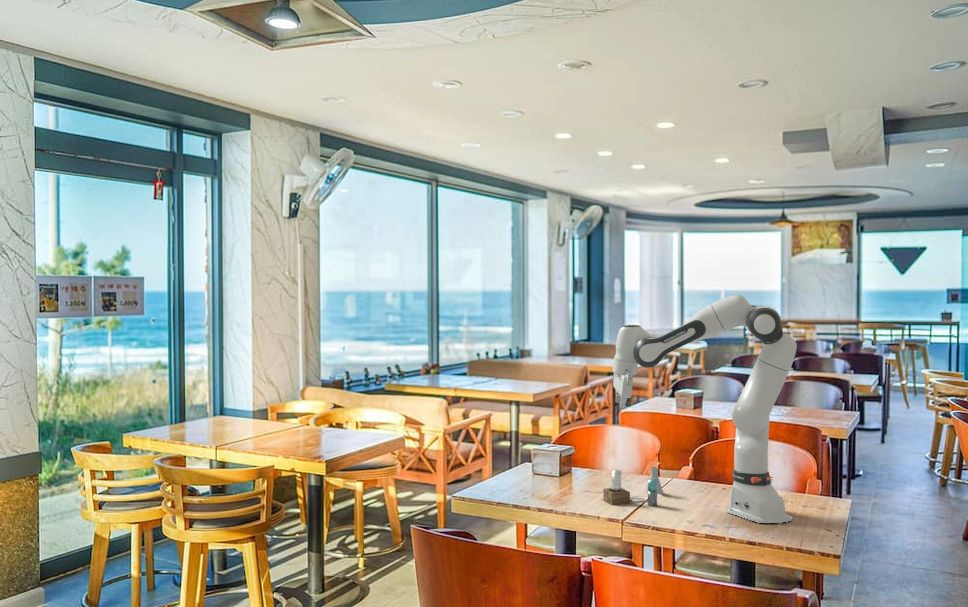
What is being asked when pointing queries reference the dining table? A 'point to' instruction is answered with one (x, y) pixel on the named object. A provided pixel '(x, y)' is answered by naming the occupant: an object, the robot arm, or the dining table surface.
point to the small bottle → (652, 492)
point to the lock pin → (616, 481)
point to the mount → (621, 497)
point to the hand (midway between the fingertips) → (619, 405)
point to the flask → (655, 476)
